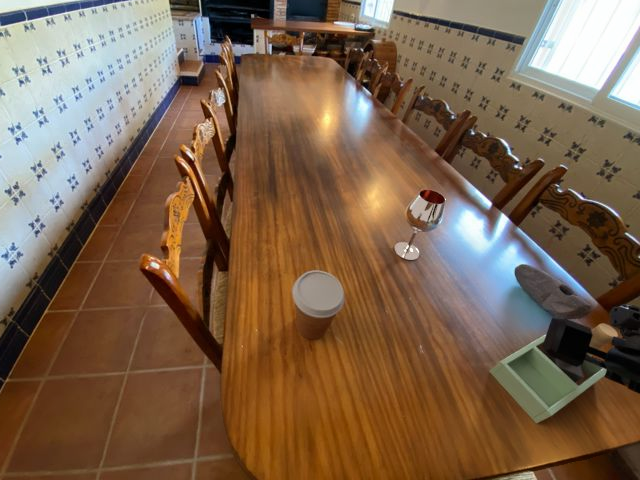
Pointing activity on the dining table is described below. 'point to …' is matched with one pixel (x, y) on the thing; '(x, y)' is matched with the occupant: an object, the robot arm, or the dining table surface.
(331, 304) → the disposable coffee cup
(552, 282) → the perforated stone tool
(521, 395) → the divided tray
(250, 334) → the dining table surface
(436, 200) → the wineglass
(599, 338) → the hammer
